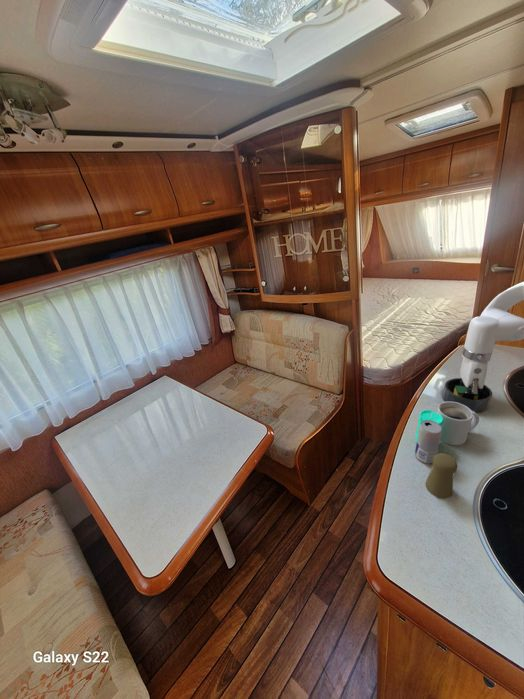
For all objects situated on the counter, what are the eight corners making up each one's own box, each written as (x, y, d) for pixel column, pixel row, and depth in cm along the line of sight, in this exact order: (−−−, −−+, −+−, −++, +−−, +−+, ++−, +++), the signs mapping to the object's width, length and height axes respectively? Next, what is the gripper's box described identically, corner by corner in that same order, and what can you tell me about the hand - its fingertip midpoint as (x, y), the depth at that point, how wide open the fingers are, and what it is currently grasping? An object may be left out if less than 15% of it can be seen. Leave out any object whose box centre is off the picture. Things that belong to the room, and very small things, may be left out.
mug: (430, 438, 86) (435, 414, 81) (435, 420, 92) (440, 396, 88) (473, 452, 80) (481, 426, 75) (475, 431, 86) (482, 407, 82)
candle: (411, 436, 88) (416, 407, 82) (429, 434, 88) (435, 404, 82) (422, 451, 82) (428, 421, 77) (441, 448, 82) (449, 418, 77)
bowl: (481, 392, 102) (485, 380, 99) (494, 416, 91) (498, 403, 88) (439, 388, 107) (441, 376, 104) (446, 410, 96) (449, 398, 93)
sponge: (472, 395, 99) (475, 387, 97) (476, 402, 95) (478, 394, 94) (453, 393, 101) (455, 385, 99) (455, 400, 97) (458, 392, 96)
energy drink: (426, 447, 83) (432, 417, 78) (439, 461, 78) (447, 430, 73) (410, 451, 83) (415, 422, 77) (423, 466, 78) (429, 435, 72)
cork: (422, 476, 75) (428, 448, 70) (447, 478, 74) (454, 449, 69) (429, 497, 70) (436, 468, 65) (456, 499, 68) (465, 470, 63)
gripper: (499, 367, 82) (484, 414, 90) (482, 342, 95) (471, 385, 103) (469, 365, 84) (457, 411, 93) (457, 341, 98) (447, 383, 106)
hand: (464, 397), depth 98 cm, fingers closed on sponge, 4 cm apart
